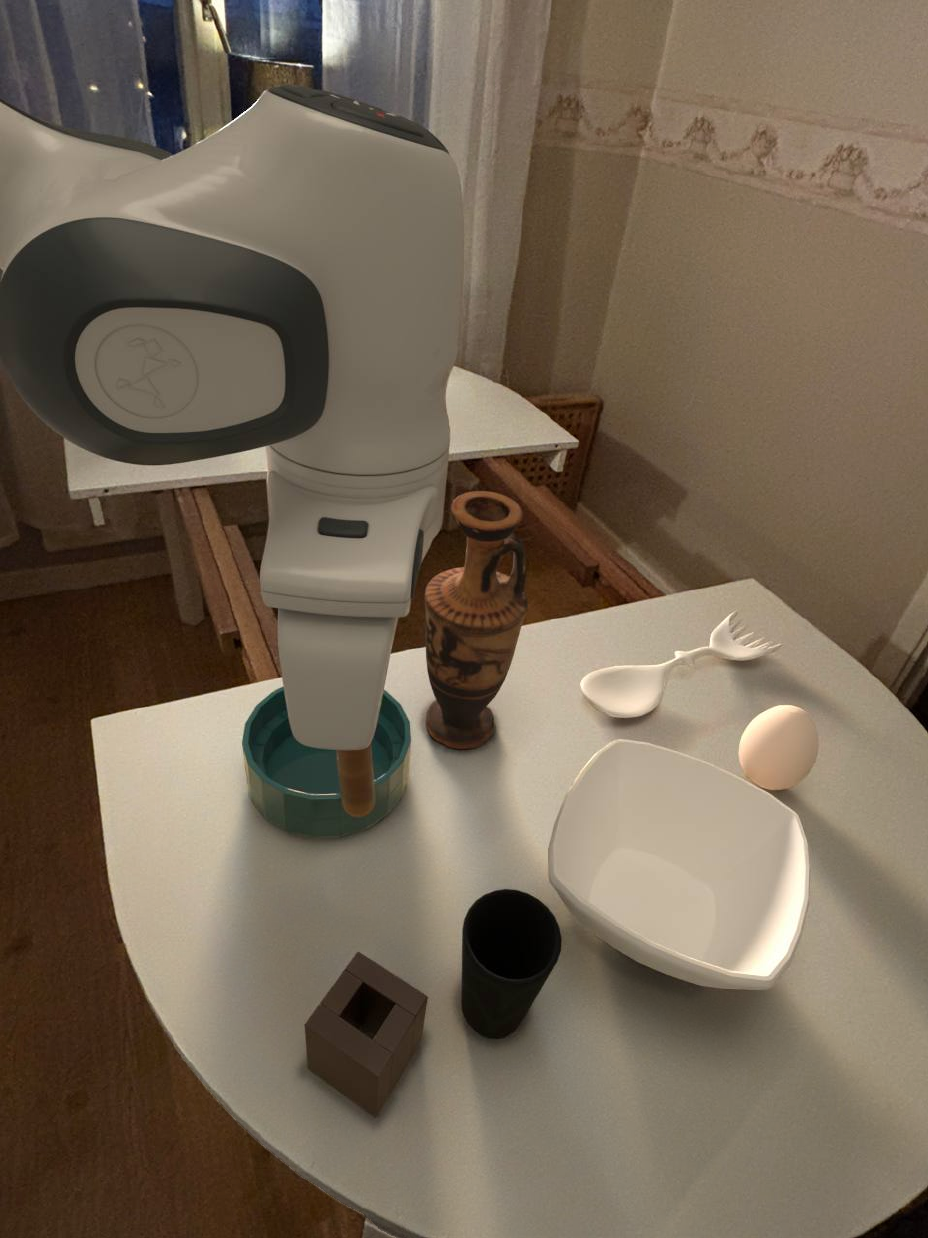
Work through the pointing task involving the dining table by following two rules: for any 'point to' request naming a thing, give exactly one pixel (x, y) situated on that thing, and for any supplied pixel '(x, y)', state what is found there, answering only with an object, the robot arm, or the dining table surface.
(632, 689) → the spoon
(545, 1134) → the dining table surface
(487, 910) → the cup
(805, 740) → the egg
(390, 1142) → the dining table surface
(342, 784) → the stick
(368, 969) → the holder
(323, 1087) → the dining table surface
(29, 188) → the robot arm
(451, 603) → the vase
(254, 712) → the mixing bowl
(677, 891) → the bowl
